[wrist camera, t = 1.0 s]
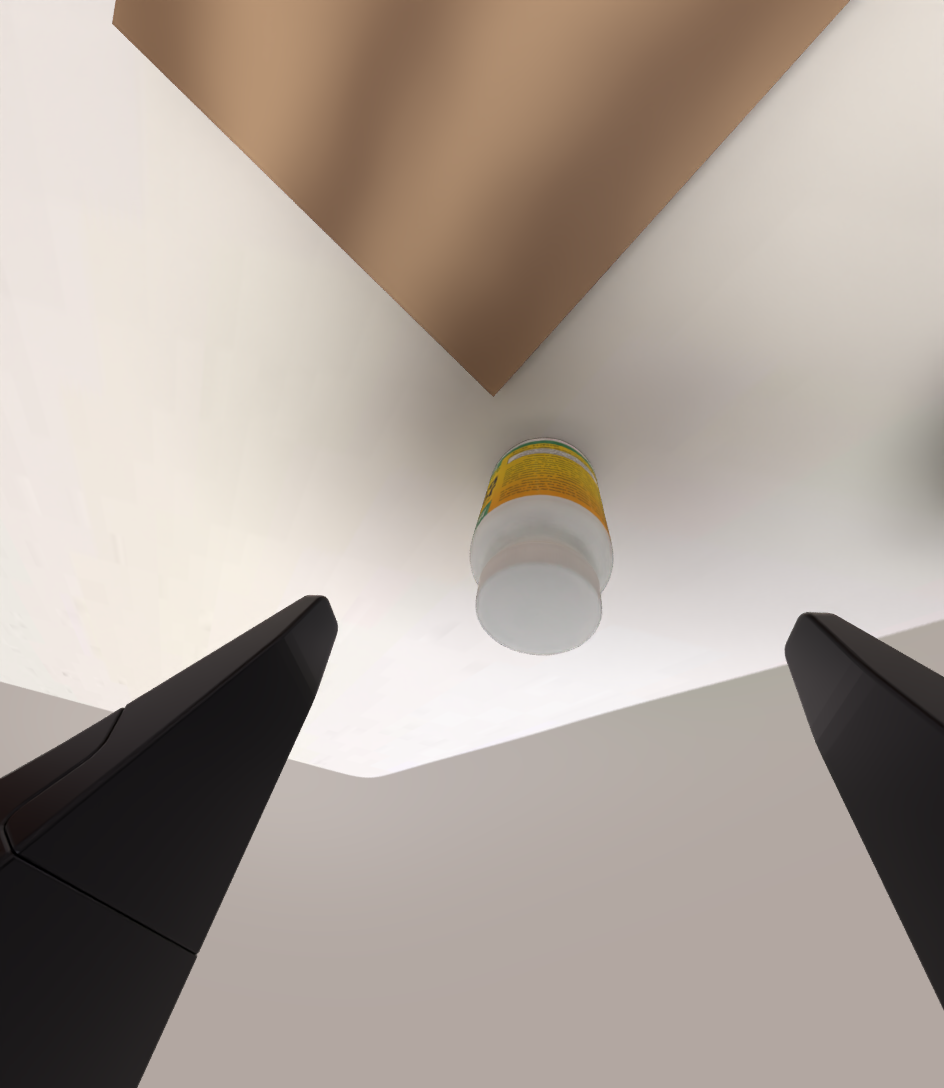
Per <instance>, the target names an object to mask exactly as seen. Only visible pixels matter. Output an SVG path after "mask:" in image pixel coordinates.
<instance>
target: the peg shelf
mask: <svg viewBox="0 0 944 1088" xmlns="http://www.w3.org/2000/svg"><path fill="white" fill-rule="evenodd" d="M849 1H850V0H116V2H115V9H114V15H113V22H112V24H113V25H114V26H115V27H116V28H117V29H118V30H119V31H120V32H121V33H122V34H123V35H124V36H125V37H126V38H127V39H128V40H129V41H130V42H131V43H132V44H133V45H134V46H136V47H137V48H138V49H139V50H140V51H141V52H142V53H143V54H144V55H145V56H146V57H147V58H148V59H149V60H150V61H151V62H152V63H153V64H154V65H155V66H156V67H157V68H158V69H159V70H160V71H161V72H162V73H163V74H164V75H165V76H166V77H167V78H168V79H169V80H170V81H171V82H172V83H173V84H174V85H175V86H176V87H177V88H178V89H179V90H180V91H181V92H182V93H184V94H185V95H186V96H187V97H188V98H189V99H190V100H191V101H192V102H193V103H194V104H195V105H196V106H197V107H198V108H199V109H200V110H201V111H202V112H203V113H204V114H205V115H206V116H207V117H208V118H209V119H210V120H211V121H212V122H213V123H214V124H215V125H216V126H217V127H218V128H219V129H220V130H221V131H222V132H223V133H224V134H225V135H226V136H227V137H228V138H229V139H230V140H232V141H233V142H234V143H235V144H236V145H237V146H238V147H239V148H240V149H241V150H242V151H243V152H244V153H245V154H246V155H247V156H248V157H249V158H250V159H251V160H252V161H253V162H254V163H255V164H256V165H257V166H258V167H259V168H260V169H261V170H262V171H263V172H264V173H265V174H266V175H267V176H268V177H269V178H270V179H271V180H272V181H273V182H274V183H275V184H276V185H277V186H278V187H280V188H281V189H282V190H283V191H284V192H285V193H286V194H287V195H288V196H289V197H290V198H291V199H292V200H293V201H294V202H295V203H296V204H297V205H298V206H299V207H300V208H301V209H302V210H303V211H304V212H305V213H306V214H307V215H308V216H309V217H310V218H311V219H312V220H313V221H314V222H315V223H316V224H317V225H318V226H319V227H320V228H321V229H322V230H323V231H324V232H325V233H326V234H328V235H329V236H330V237H331V238H332V239H333V240H334V241H335V242H336V243H337V244H338V245H339V246H340V247H341V248H342V249H343V250H344V251H345V252H346V253H347V254H348V255H349V256H350V257H351V258H352V259H353V260H354V261H355V262H356V263H357V264H358V265H359V266H360V267H361V268H362V269H363V270H364V271H365V272H366V273H367V274H368V275H369V276H370V277H371V278H372V279H373V280H374V281H376V282H377V283H378V284H379V285H380V286H381V287H382V288H383V289H384V290H385V291H386V292H387V293H388V294H389V295H390V296H391V297H392V298H393V299H394V300H395V301H396V302H397V303H398V304H399V305H400V306H401V307H402V308H403V309H404V310H405V311H406V312H407V313H408V314H409V315H410V316H411V317H412V318H413V319H414V320H415V321H416V322H417V323H418V324H419V325H420V326H421V327H422V328H423V329H425V330H426V331H427V332H428V333H429V334H430V335H431V336H432V337H433V338H434V339H435V340H436V341H437V342H438V343H439V344H440V345H441V346H442V347H443V348H444V349H445V350H446V351H447V352H448V353H449V354H450V355H451V356H452V357H453V358H454V359H455V360H456V361H457V362H458V363H459V364H460V365H461V366H462V367H463V368H464V369H465V370H466V371H467V372H468V373H469V374H470V375H471V376H473V377H474V378H475V379H476V380H477V381H478V382H479V383H480V384H481V385H482V386H483V387H484V388H485V389H486V390H487V391H488V392H489V393H490V394H491V395H492V396H493V397H494V396H495V394H496V393H497V392H498V391H499V390H500V389H501V388H502V387H503V386H504V384H505V383H506V382H507V381H508V380H509V379H510V378H511V377H512V376H513V374H514V373H515V372H516V371H517V370H518V369H519V368H520V367H521V366H522V364H523V363H524V362H525V361H526V360H527V359H528V358H529V357H530V356H531V354H532V353H533V352H534V351H535V350H536V349H537V348H538V347H539V345H540V344H541V343H542V342H543V341H544V340H545V339H546V338H547V337H548V335H549V334H550V333H551V332H552V331H553V330H554V329H555V328H556V327H557V325H558V324H559V323H560V322H561V321H562V320H563V319H564V318H565V317H566V315H567V314H568V313H569V312H570V311H571V310H572V309H573V308H574V307H575V305H576V304H577V303H578V302H579V301H580V300H581V299H582V298H583V297H584V295H585V294H586V293H587V292H588V291H589V290H590V289H591V288H592V287H593V285H594V284H595V283H596V282H597V281H598V280H599V279H600V278H601V277H602V275H603V274H604V273H605V272H606V271H607V270H608V269H609V268H610V267H611V265H612V264H613V263H614V262H615V261H616V260H617V259H618V258H619V257H620V255H621V254H622V253H623V252H624V251H625V250H626V249H627V248H628V247H629V245H630V244H631V243H632V242H633V241H634V240H635V239H636V238H637V237H638V235H639V234H640V233H641V232H642V231H643V230H644V229H645V228H646V227H647V225H648V224H649V223H650V222H651V221H652V220H653V219H654V218H655V217H656V215H657V214H658V213H659V212H660V211H661V210H662V209H663V208H664V207H665V205H666V204H667V203H668V202H669V201H670V200H671V199H672V198H673V197H674V195H675V194H676V193H677V192H678V191H679V190H680V189H681V188H682V186H683V185H684V184H685V183H686V182H687V181H688V180H689V179H690V178H691V176H692V175H693V174H694V173H695V172H696V171H697V170H698V169H699V168H700V166H701V165H702V164H703V163H704V162H705V161H706V160H707V159H708V158H709V156H710V155H711V154H712V153H713V152H714V151H715V150H716V149H717V148H718V146H719V145H720V144H721V143H722V142H723V141H724V140H725V139H726V138H727V136H728V135H729V134H730V133H731V132H732V131H733V130H734V129H735V128H736V126H737V125H738V124H739V123H740V122H741V121H742V120H743V119H744V118H745V116H746V115H747V114H748V113H749V112H750V111H751V110H752V109H753V108H754V106H755V105H756V104H757V103H758V102H759V101H760V100H761V99H762V98H763V96H764V95H765V94H766V93H767V92H768V91H769V90H770V89H771V88H772V86H773V85H774V84H775V83H776V82H777V81H778V80H779V79H780V78H781V76H782V75H783V74H784V73H785V72H786V71H787V70H788V69H789V68H790V66H791V65H792V64H793V63H794V62H795V61H796V60H797V59H798V58H799V56H800V55H801V54H802V53H803V52H804V51H805V50H806V49H807V48H808V46H809V45H810V44H811V43H812V42H813V41H814V40H815V39H816V38H817V36H818V35H819V34H820V33H821V32H822V31H823V30H824V29H825V28H826V26H827V25H828V24H829V23H830V22H831V21H832V20H833V19H834V17H835V16H836V15H837V14H838V13H839V12H840V11H841V10H842V9H843V7H844V6H845V5H846V4H847V3H848V2H849Z"/></svg>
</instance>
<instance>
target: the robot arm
mask: <svg viewBox="0 0 944 1088" xmlns="http://www.w3.org/2000/svg"><path fill="white" fill-rule="evenodd" d="M337 631H338V624H337V620H336V618H335V615H334V613H333V610H332V608H331V605H330V603H329V600H328V599H327V598H326V597H325V596H322V595H307V596H304V597H303V598H301V599H299V600H298V601H296V602H294V603H293V604H291V605H289V606H288V607H286V608H285V609H283V610H281V611H280V612H278V613H276V614H275V615H273V616H271V617H270V618H268V619H266V620H265V621H263V622H262V623H260V624H258V625H257V626H255V627H253V628H252V629H250V630H248V631H247V632H245V633H243V634H242V635H240V636H239V637H237V638H235V639H234V640H232V641H230V642H229V643H227V644H225V645H224V646H222V647H221V648H219V649H217V650H216V651H214V652H212V653H211V654H209V655H207V656H206V657H204V658H202V659H201V660H199V661H198V662H196V663H194V664H193V665H191V666H189V667H188V668H186V669H184V670H183V671H181V672H179V673H178V674H176V675H175V676H173V677H171V678H170V679H168V680H166V681H165V682H163V683H161V684H160V685H158V686H157V687H155V688H153V689H152V690H150V691H148V692H147V693H145V694H143V695H142V696H140V697H138V698H137V699H135V700H134V701H132V702H130V703H129V704H127V705H126V707H125V708H120V709H119V710H117V711H115V712H114V713H112V714H110V715H109V716H107V717H106V718H104V719H102V720H101V721H99V722H98V723H96V724H94V725H92V726H91V727H89V728H87V729H86V730H84V731H82V732H81V733H79V734H77V735H76V736H74V737H72V738H70V739H69V740H67V741H66V742H64V743H62V744H60V745H59V746H57V747H55V748H53V749H51V750H50V751H48V752H46V753H44V754H43V755H41V756H39V757H37V758H35V759H34V760H32V761H30V762H28V763H27V764H25V765H23V766H21V767H19V768H18V769H16V770H14V771H13V772H11V773H9V774H7V775H5V776H3V777H2V778H0V1088H137V1087H138V1085H139V1083H140V1081H141V1078H142V1076H143V1074H144V1072H145V1070H146V1067H147V1065H148V1063H149V1061H150V1059H151V1057H152V1054H153V1052H154V1050H155V1048H156V1046H157V1043H158V1041H159V1039H160V1037H161V1035H162V1033H163V1030H164V1028H165V1026H166V1024H167V1022H168V1019H169V1017H170V1015H171V1013H172V1011H173V1009H174V1006H175V1004H176V1002H177V1000H178V998H179V995H180V993H181V991H182V989H183V987H184V984H185V982H186V980H187V978H188V976H189V974H190V971H191V969H192V967H193V965H194V963H195V960H196V958H197V953H198V952H199V951H200V949H201V947H202V944H203V942H204V940H205V938H206V936H207V933H208V931H209V929H210V927H211V925H212V923H213V920H214V918H215V916H216V913H217V911H218V909H219V907H220V905H221V903H222V900H223V898H224V896H225V894H226V892H227V890H228V888H229V885H230V883H231V881H232V879H233V877H234V874H235V872H236V870H237V868H238V865H239V863H240V861H241V859H242V857H243V855H244V852H245V850H246V848H247V846H248V843H249V841H250V839H251V837H252V835H253V833H254V831H255V828H256V826H257V824H258V822H259V819H260V818H261V815H262V813H263V811H264V809H265V806H266V804H267V802H268V800H269V798H270V795H271V793H272V791H273V789H274V787H275V785H276V782H277V780H278V778H279V776H280V774H281V772H282V769H283V767H284V765H285V763H286V761H287V758H288V756H289V754H290V752H291V750H292V748H293V745H294V743H295V741H296V739H297V737H298V734H299V732H300V730H301V728H302V726H303V723H304V721H305V719H306V717H307V715H308V713H309V710H310V708H311V706H312V703H313V701H314V699H315V696H316V694H317V691H318V688H319V686H320V683H321V680H322V677H323V674H324V671H325V668H326V665H327V662H328V659H329V656H330V653H331V650H332V647H333V644H334V641H335V638H336V635H337ZM785 657H786V661H787V664H788V666H789V669H790V672H791V675H792V678H793V680H794V683H795V686H796V689H797V692H798V695H799V698H800V701H801V703H802V706H803V709H804V712H805V715H806V717H807V720H808V723H809V726H810V728H811V732H812V734H813V737H814V739H815V742H816V744H817V746H818V749H819V751H820V753H821V755H822V757H823V760H824V761H825V764H826V766H827V768H828V770H829V772H830V774H831V776H832V778H833V780H834V783H835V784H836V787H837V789H838V791H839V793H840V795H841V797H842V799H843V801H844V803H845V805H846V807H847V809H848V812H849V814H850V816H851V818H852V820H853V822H854V824H855V826H856V828H857V830H858V833H859V835H860V837H861V839H862V841H863V843H864V845H865V847H866V849H867V851H868V853H869V855H870V858H871V860H872V862H873V864H874V866H875V868H876V870H877V872H878V874H879V876H880V878H881V880H882V882H883V885H884V887H885V889H886V891H887V893H888V895H889V897H890V899H891V901H892V903H893V905H894V908H895V910H896V912H897V914H898V916H899V918H900V920H901V922H902V924H903V926H904V928H905V930H906V932H907V935H908V937H909V939H910V941H911V943H912V945H913V947H914V949H915V951H916V953H917V955H918V957H919V960H920V962H921V964H922V966H923V968H924V970H925V972H926V974H927V976H928V978H929V980H930V982H931V985H932V986H933V989H934V990H935V993H936V995H937V997H938V999H939V1001H940V1003H941V1005H942V1007H943V1010H944V677H943V676H941V675H939V674H938V673H936V672H934V671H932V670H931V669H929V668H927V667H925V666H923V665H922V664H920V663H918V662H917V661H915V660H913V659H912V658H910V657H908V656H906V655H904V654H903V653H901V652H899V651H898V650H896V649H894V648H892V647H891V646H889V645H887V644H885V643H884V642H882V641H880V640H878V639H877V638H875V637H873V636H871V635H870V634H868V633H866V632H864V631H863V630H861V629H859V628H857V627H856V626H854V625H852V624H851V623H849V622H847V621H845V620H844V619H842V618H840V617H838V616H836V615H834V614H831V613H816V612H806V613H803V614H801V615H800V616H799V617H798V619H797V621H796V623H795V625H794V628H793V630H792V632H791V634H790V636H789V638H788V640H787V642H786V645H785Z"/></svg>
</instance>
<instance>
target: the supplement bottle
mask: <svg viewBox="0 0 944 1088" xmlns="http://www.w3.org/2000/svg"><path fill="white" fill-rule="evenodd" d="M470 564H471V569H472V573H473V576H474V578H475V580H476V582H477V584H478V591H477V596H476V613H477V617H478V620H479V622H480V624H481V626H482V627H483V629H484V630H485V631H486V632H487V634H488V635H489V636H491V637H492V638H493V639H494V640H495V641H496V642H498V643H500V644H501V645H503V646H505V647H507V648H509V649H511V650H514V651H518V652H521V653H526V654H532V655H553V654H559V653H563V652H566V651H569V650H572V649H574V648H576V647H579V646H580V645H582V644H583V643H584V642H586V641H587V640H588V639H589V638H590V637H591V636H592V635H593V634H594V632H595V631H596V629H597V628H598V626H599V623H600V620H601V615H602V603H601V595H600V594H601V592H602V591H603V590H604V588H605V587H606V585H607V583H608V581H609V578H610V575H611V572H612V567H613V549H612V543H611V539H610V535H609V531H608V527H607V523H606V518H605V514H604V510H603V505H602V501H601V497H600V492H599V488H598V483H597V479H596V476H595V473H594V470H593V468H592V466H591V464H590V462H589V461H588V460H587V458H586V457H585V456H584V455H583V454H582V453H581V452H580V451H579V450H577V449H576V448H575V447H573V446H572V445H570V444H568V443H566V442H563V441H560V440H556V439H551V438H538V439H531V440H527V441H524V442H522V443H520V444H518V445H516V446H515V447H513V448H512V449H510V450H509V451H508V452H507V453H506V454H505V455H504V456H503V457H502V458H501V459H500V460H499V462H498V463H497V465H496V466H495V468H494V470H493V473H492V476H491V479H490V482H489V486H488V489H487V492H486V496H485V499H484V502H483V506H482V509H481V512H480V515H479V518H478V522H477V525H476V528H475V531H474V534H473V538H472V542H471V548H470Z"/></svg>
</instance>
